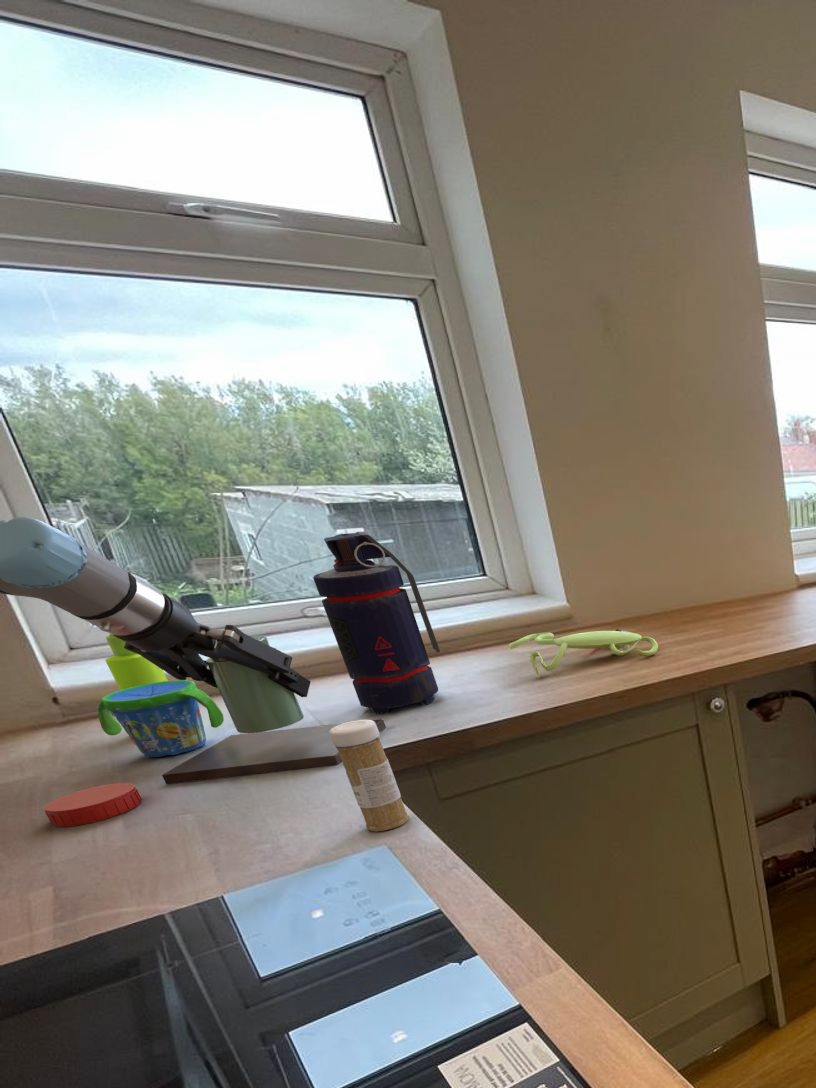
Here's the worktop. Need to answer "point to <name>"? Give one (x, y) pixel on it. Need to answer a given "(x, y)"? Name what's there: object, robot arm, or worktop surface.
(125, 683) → the soap dispenser
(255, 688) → the jar
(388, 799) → the sprinkles bottle
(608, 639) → the figurine
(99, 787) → the lid
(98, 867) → the worktop surface
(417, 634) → the grenade
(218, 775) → the board
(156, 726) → the snack cup
